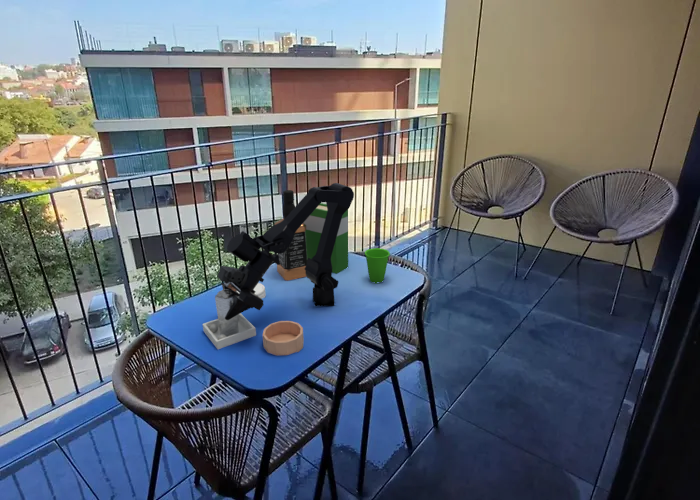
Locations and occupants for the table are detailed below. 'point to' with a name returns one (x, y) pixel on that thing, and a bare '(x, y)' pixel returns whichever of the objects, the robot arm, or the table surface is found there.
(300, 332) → the bowl
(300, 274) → the whiskey bottle
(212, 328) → the pebble
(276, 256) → the robot arm
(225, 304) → the silver ball-topped cylinder
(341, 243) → the hardback book
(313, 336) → the table surface
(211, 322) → the tray
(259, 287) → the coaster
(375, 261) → the cup
